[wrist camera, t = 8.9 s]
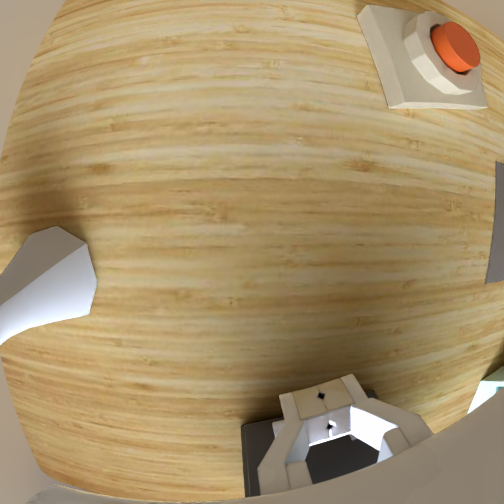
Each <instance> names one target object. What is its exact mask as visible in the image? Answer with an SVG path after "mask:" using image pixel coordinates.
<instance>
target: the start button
mask: <svg viewBox="0 0 504 504" xmlns="http://www.w3.org/2000/svg"><path fill="white" fill-rule="evenodd" d="M431 42H432V44H433V47H434V49H435V52H436V53H437V54H438V55H439V57H440V58H441V59H442V61H443V62H444V64H445V65H446V66H447V67H449V68H450V69H451V70H453V71H456V72H463V71H466V70H469V69H472V68H475V67H477V66H478V65H479V63H480V53H479V50H478V48H477V45H476V43H475V42H474V40H473V38H472V37H471V36H470V34H469V33H468V32H467V31H466V30H465V29H464V28H463V27H461V26H460V25H459V24H457V23H455V22H446V23H444V24H443V25H441V26H439V27H438V28H436V29H434V30H433V31H432V33H431Z"/></svg>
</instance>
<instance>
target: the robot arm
mask: <svg viewBox="0 0 504 504" xmlns="http://www.w3.org/2000/svg"><path fill="white" fill-rule="evenodd" d="M279 399H280V403H281V407H282V411H283V415H284V419H285V423H286V425H282V427H281V428H280V430H279V432H278V434H277V436H276V438H275V439H274V441H273V443H272V445H271V446H270V448H269V450H268V452H267V453H266V455H265V457H264V458H263V460H262V462H261V463H260V465H259V467H258V468H257V470H258V478H259V486H260V494H261V496H254V497H247V498H238V499H229V500H216V501H194V502H171V501H149V500H137V499H128V498H120V497H112V496H106V495H100V494H95V493H90V492H85V491H80V490H76V489H72V488H68V487H64V486H60V485H52V486H50V487H48V488H46V489H44V490H43V491H41V492H40V493H38V494H36V495H35V496H33V497H32V498H30V499H29V500H28V501H27V502H26V504H504V387H503V388H501V389H500V390H499V391H498V392H496V393H495V394H494V395H493V396H491V397H490V398H489V399H487V400H486V401H485V402H483V403H482V404H481V405H479V406H478V407H477V408H475V409H474V410H472V411H471V412H470V413H468V414H467V415H465V416H464V417H462V418H461V419H459V420H458V421H456V422H455V423H453V424H451V425H450V426H448V427H446V428H445V429H443V430H442V431H440V432H438V433H436V434H435V435H434V434H433V433H432V431H431V430H430V429H429V427H428V426H427V424H426V423H425V422H424V420H423V419H422V418H421V416H420V415H418V414H415V413H412V412H410V411H407V410H404V409H401V408H398V407H396V406H393V405H390V404H388V403H385V402H382V401H380V400H377V399H375V398H369V399H368V397H367V396H366V394H365V392H364V391H363V389H362V388H361V386H360V384H359V383H358V381H357V380H356V378H355V376H354V375H353V374H349V375H347V376H344V377H341V378H338V379H335V380H332V381H329V382H326V383H323V384H319V385H316V386H313V387H309V388H305V389H301V390H297V391H293V392H290V393H286V394H281V395H279ZM350 433H351V434H352V435H354V436H355V437H357V438H358V439H360V440H362V441H363V442H365V443H367V444H369V445H370V446H372V447H374V448H375V449H377V450H379V451H380V452H379V457H378V461H377V463H375V464H373V465H370V466H368V467H365V468H362V469H360V470H357V471H354V472H352V473H349V474H346V475H343V476H340V477H337V478H333V479H330V480H327V481H324V482H320V483H316V484H312V481H311V477H310V474H309V471H308V468H307V464H306V462H305V459H306V456H307V454H308V451H309V448H310V446H312V445H315V444H318V443H321V442H324V441H327V440H330V439H334V438H337V437H340V436H344V435H347V434H350Z"/></svg>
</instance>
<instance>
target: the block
mask: <svg viewBox="0 0 504 504" xmlns="http://www.w3.org/2000/svg"><path fill="white" fill-rule="evenodd" d="M357 20H358V22H359V24H360V27H361V29H362V31H363V34H364V36H365V39H366V41H367V44H368V46H369V49H370V52H371V54H372V57H373V60H374V63H375V66H376V69H377V72H378V75H379V78H380V81H381V84H382V87H383V91H384V94H385V97H386V101H387V104H388V108H389V109H398V108H440V109H461V110H477V109H482V108H488V104H487V100H486V96H485V93H484V89H483V86H482V83H481V66H480V63H479V65H478V66H477V67H475V68H472V69H469V70H466V71H463V72H456V71H453V70H451V69H450V68H449V67H447V66H446V65H445V64H444V62H443V61H442V59H441V58H440V57H439V55H438V54H437V53H436V52H435V49H434V47H433V44H432V42H431V33H432V31H433V30H434V29H436V28H438V27H439V26H441V25H443V24H444V23H446V22H452V21H451V20H449V19H448V18H447V17H445V16H444V15H442V14H439V13H436V12H432V11H429V10H427V11H425V12H423V13H421V14H420V13H415V12H411V11H406V10H401V9H396V8H390V7H384V6H377V5H370V4H367V5H366V6H365V8H364V9H363V10H362V11H361V12H360V13H359V14H358V16H357Z"/></svg>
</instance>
